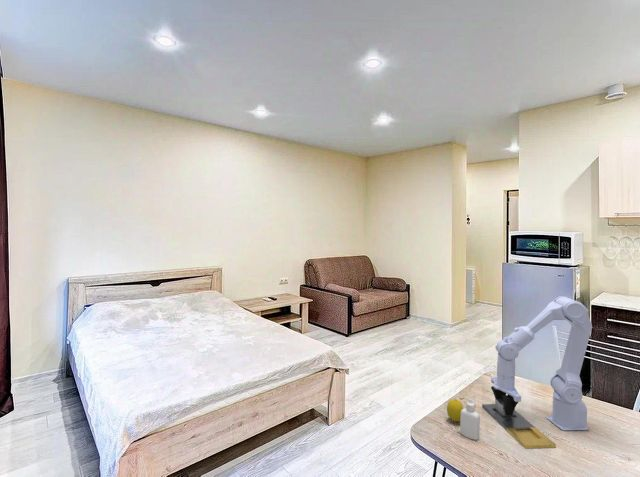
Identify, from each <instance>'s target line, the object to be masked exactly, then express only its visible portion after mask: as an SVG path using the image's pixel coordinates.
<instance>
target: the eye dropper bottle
mask: <svg viewBox="0 0 640 477" xmlns="http://www.w3.org/2000/svg"><path fill="white" fill-rule="evenodd" d="M465 406H466V408H464V409H462V410H461V420H460V421H459V422H460V424H459V425H460V426H459V429H460V430H459V433H460V434H461V435H462V436H464V437H465V438H467V439H470V440H474V441H477V440H479V438H480V428H481V427H480V425H481V424H480V423H481V421H480V420H481V418H480V417H481V416H480V414H479V413H478V412H477V411H475V407H476V406H475V403H474V402H473V399H471V398H469V400H468V401H466V404H465Z"/></svg>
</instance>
